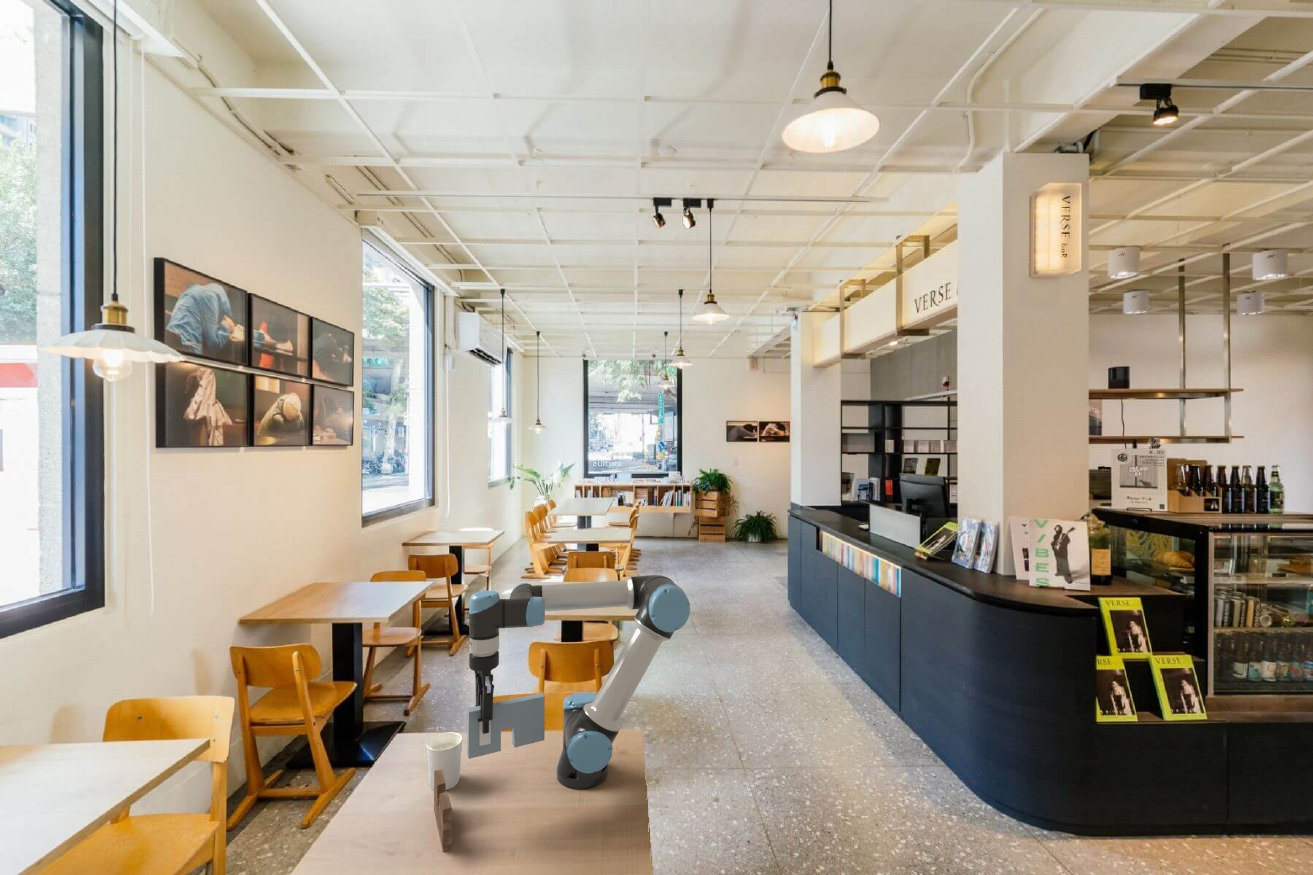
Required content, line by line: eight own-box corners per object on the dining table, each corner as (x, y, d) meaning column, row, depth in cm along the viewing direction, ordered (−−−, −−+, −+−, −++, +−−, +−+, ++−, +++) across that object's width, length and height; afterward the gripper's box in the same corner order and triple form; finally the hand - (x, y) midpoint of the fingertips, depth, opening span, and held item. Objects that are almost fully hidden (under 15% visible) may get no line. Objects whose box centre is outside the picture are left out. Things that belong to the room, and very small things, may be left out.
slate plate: (541, 736, 158) (542, 692, 158) (544, 740, 156) (544, 696, 156) (467, 754, 149) (467, 708, 149) (468, 758, 147) (468, 712, 147)
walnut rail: (441, 806, 153) (442, 768, 153) (451, 848, 137) (451, 807, 137) (433, 808, 152) (434, 770, 152) (442, 851, 136) (442, 809, 136)
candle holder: (450, 795, 158) (450, 751, 158) (418, 790, 160) (419, 747, 160) (468, 774, 168) (469, 734, 168) (438, 770, 170) (439, 730, 170)
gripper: (464, 644, 155) (464, 731, 155) (474, 664, 141) (474, 759, 141) (492, 640, 158) (492, 724, 158) (505, 659, 145) (504, 751, 145)
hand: (483, 740), depth 150 cm, fingers closed on slate plate, 2 cm apart
